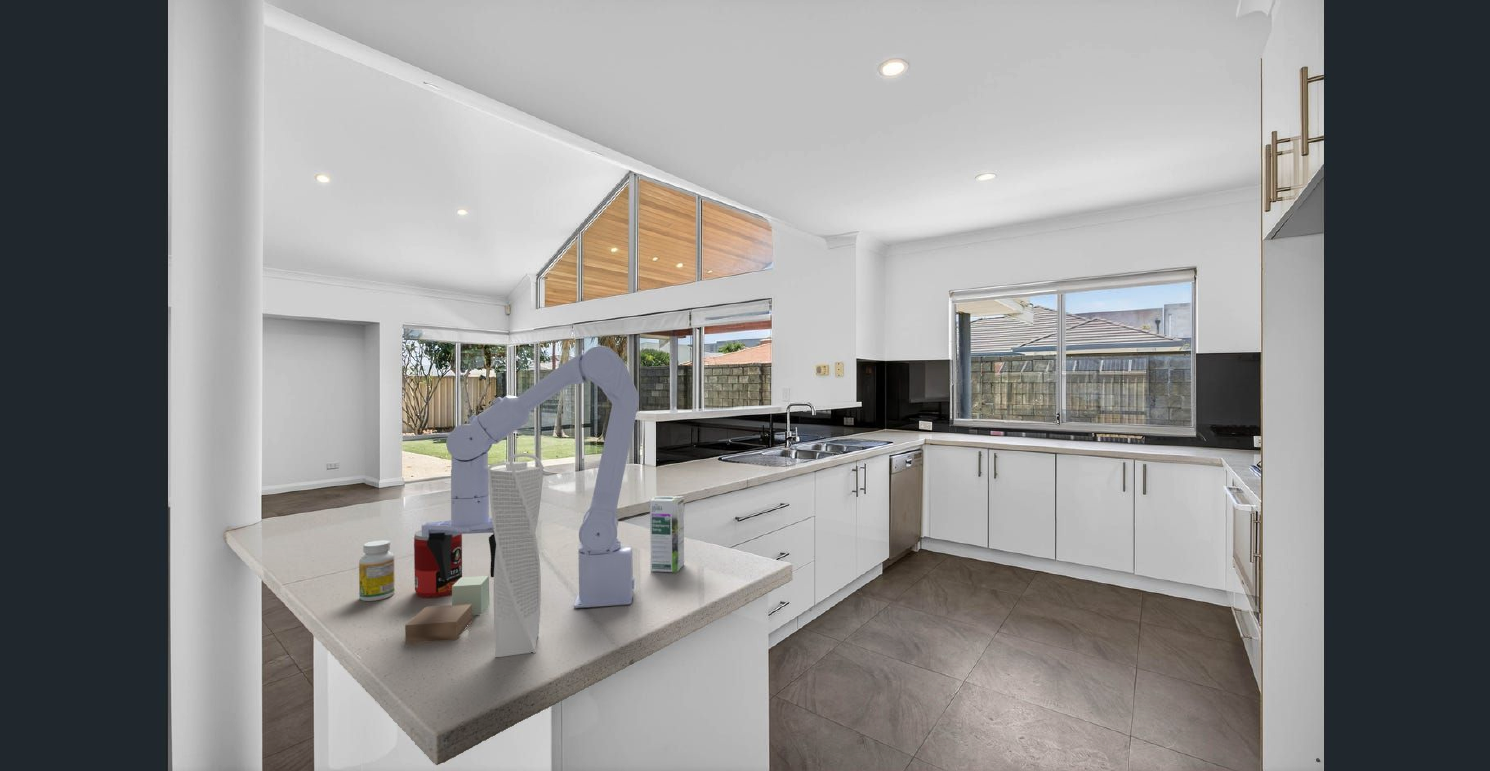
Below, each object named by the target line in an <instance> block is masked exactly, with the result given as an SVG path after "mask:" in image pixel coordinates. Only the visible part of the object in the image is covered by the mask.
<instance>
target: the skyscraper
mask: <svg viewBox="0 0 1490 771" xmlns="http://www.w3.org/2000/svg"><path fill="white" fill-rule="evenodd" d="M522 457H523V458H531V459H532V460H534V461H535V462H536V463H537V464H538V465H539V467H538V466H528V461H524V460H523V461H513V459H515V458H516V459H517V458H522ZM501 466H505V467H501ZM495 467H501V468H495ZM492 468H495V469H492ZM488 478H489V505H490V511H491V518H492V522H493V529H494V535H495V541H496V552H495V564H494V577H493V628H494V629H493V630H494V652H495V653H494V654H495V658H503V657H509V656H517V655H524V654H535V653H537V650H536V646H537V641H538V640H537V639H538V638H539V636H540V634H539V633H540V619H541V601H542V598H541V596H542V579H541V578H542V575H541V574H542V572H541V561H540V559H541V558H540V550H539V544H538V539H537V538H538V537H537V534H536V532H537V528H538V521H539V516H540V507H541V499H542V491H543V490H542V489H543V478H544V465H543V464H542V462H541V460H540V459H539V458H538V457H537V456H535V455H533V454H532V453H526V452H522V453H521V452H519V453H515V454H511V455H510V456H509V457H508V461H501V462H494V463H492V464H490V465H488ZM531 652H533V653H531Z"/></svg>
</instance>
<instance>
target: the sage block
mask: <svg viewBox="0 0 1490 771" xmlns="http://www.w3.org/2000/svg"><path fill="white" fill-rule="evenodd" d="M463 604H472V616H479V615H478V614H481V615H482V614H483V613H484V612H485V611H486V610H487V608H488V607H489V606H490V575H478V576H477V575H476V576H462V577H461V578H460V579H459V580H458V581H457V582H456V583H455V584H454V585H453V586H452V594H451V605H463ZM484 610H485V611H484Z"/></svg>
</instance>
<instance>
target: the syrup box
mask: <svg viewBox="0 0 1490 771" xmlns="http://www.w3.org/2000/svg"><path fill="white" fill-rule="evenodd" d="M684 500H685V499H684V495H683V496H682V495H681V496H680V495H679V496H677V495H676V496H674V495H673V496H671V495H668V496H667V495H665V496H664V495H656V496H654V497H653V498H651V499H650V501H649V524H650V526H649V528H650V535H649V536H650V564H649V565H650V572H651V573H654V572H657V573H658V572H659V573H660V572H661V573H678V572H679V571H680V570H681V569H682V567H683V566H684V564H685V524H684V523H685V520H684V518H685V517H684V516H685V511H684V510H685V509H684V508H685V507H684V506H685V505H684V502H685V501H684Z"/></svg>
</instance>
